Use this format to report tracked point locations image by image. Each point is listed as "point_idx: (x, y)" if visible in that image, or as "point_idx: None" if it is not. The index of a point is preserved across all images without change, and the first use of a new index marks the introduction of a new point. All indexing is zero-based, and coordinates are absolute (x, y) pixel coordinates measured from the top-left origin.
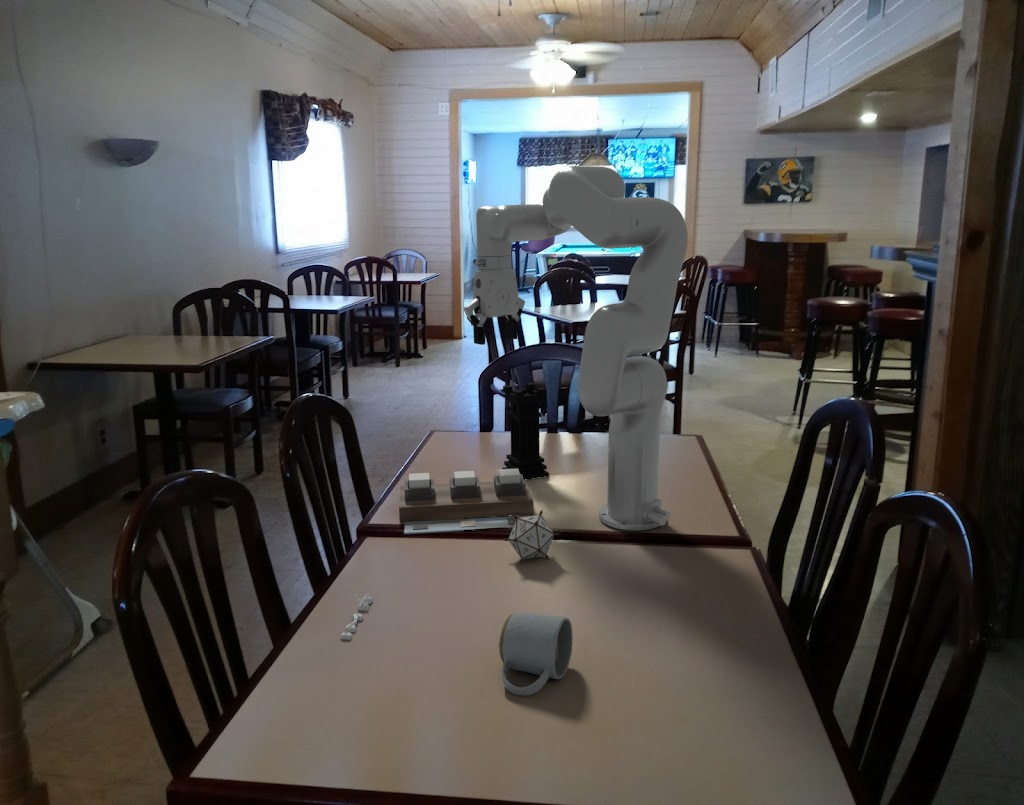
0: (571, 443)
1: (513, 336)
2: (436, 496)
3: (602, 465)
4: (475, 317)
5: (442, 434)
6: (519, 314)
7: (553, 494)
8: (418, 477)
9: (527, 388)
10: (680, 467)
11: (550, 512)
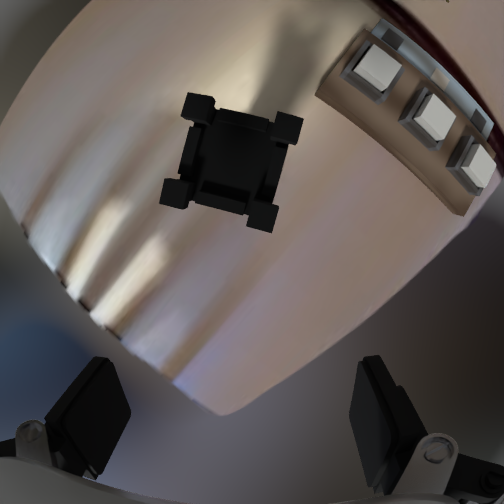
0: (89, 243)
1: (109, 374)
2: (455, 143)
3: (124, 120)
4: (480, 488)
5: (224, 407)
6: (5, 448)
7: (282, 65)
8: (485, 163)
9: (190, 193)
10: (66, 59)
11: (333, 27)
